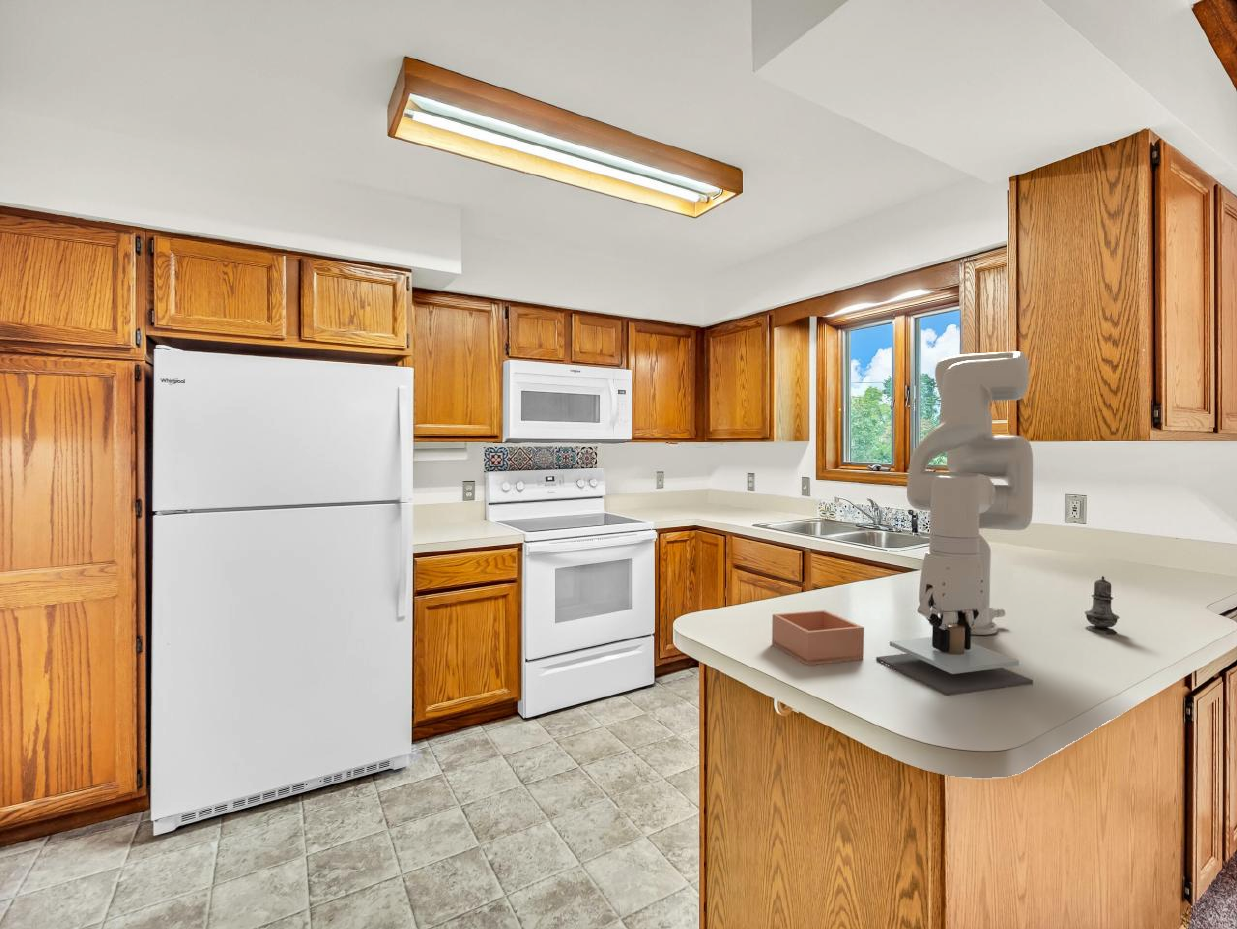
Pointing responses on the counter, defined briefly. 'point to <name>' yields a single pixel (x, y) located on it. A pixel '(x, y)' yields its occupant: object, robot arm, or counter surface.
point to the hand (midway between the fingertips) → (951, 647)
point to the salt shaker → (1102, 609)
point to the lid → (954, 653)
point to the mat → (953, 676)
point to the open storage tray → (818, 637)
